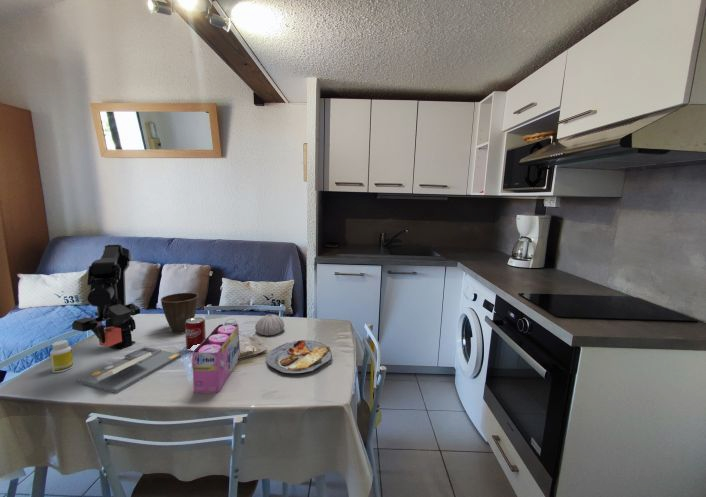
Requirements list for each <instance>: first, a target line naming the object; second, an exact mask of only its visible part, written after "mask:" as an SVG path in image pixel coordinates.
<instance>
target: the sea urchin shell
mask: <svg viewBox="0 0 706 497" xmlns="http://www.w3.org/2000/svg"><path fill="white" fill-rule="evenodd" d="M254 327H255V331H256V332H257V333H258V334H260V335H262V336H273V335H277V334H279V333H282V331H283V330H284V328H285V323H284V321H283V319H282V318H281V317H280V316H278V315H277V314H265V315H264V316H262V317H261V318H260V319H258V320H257V322H256V323H255V326H254Z"/></svg>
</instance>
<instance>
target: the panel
mask: <svg viewBox="0 0 706 497" xmlns="http://www.w3.org/2000/svg"><path fill="white" fill-rule="evenodd" d="M160 350H161V353H159V354H157V355H155V356H153V357H152V358H150V359H148V360H146V361H144V362H142V363H141V362H137V363H135V364H133V365H131V366H129V367H127V368H125V369H123V370H121V371H119V372H117V373H115V374H113V375H111V376H108V377H106V378H104V379H101V380H99V381H98V379H97V377H99V376H101V375H102V374H104V373H106V372H108V371H110V370H112V369H114V368H116V367H118V366H120V365H123V364H125V363H127V362H129V361H131V360H127V359H125V357H124V358H121V359H120V360H117V361H115V362H113V363H111V364H108V365H106V366H103V367H102V368H100V369H97V370H95V371H93V372H91V373H90V374H88V375H85V376H83V377H80V378H78V380H77V381H78V383H79V384H82V385H85V386H90V387H93V388H97V389H101V390H105V391H107V392H111V393H116V394H118V393H120V392H122V391H123V390H126V389H127V388H129V387H131V386H132V385H135V384H136V383H138V382H140V381H141V380H143V379H146V378H147V377H148V376H151V375H153V374H154V373H156V372H157V371H160V370H161V369H163V368H165V367H167V366H169V365H170V364H172V363H173V362H175V361H178V360H180V359H181V358H182V354H181V353H177V352H171V351H166V350H162V349H160ZM149 352H150V351H143V352H141V353H139V354H136V355H134V357H140V356H143V355H145V354H147V353H149ZM151 353H153V352H151Z"/></svg>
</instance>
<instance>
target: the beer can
mask: <svg viewBox="0 0 706 497" xmlns="http://www.w3.org/2000/svg"><path fill="white" fill-rule="evenodd" d="M236 324H237V325H238V321H237V320H236V319H233V318H231V319H227V320H225V323H224V324H223V325H224V326H229V325H232V326H235V325H236Z"/></svg>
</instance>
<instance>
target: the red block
mask: <svg viewBox="0 0 706 497" xmlns="http://www.w3.org/2000/svg"><path fill="white" fill-rule="evenodd" d="M104 335H105V343H101V341H100V340H99V339H98V342H99V345H100V346H103V347H108V348H110V347H109V346H112V345H114V344H117V343H119V342H122V335H121V328H118V327H113V326H111V327H107V328H106V327H105V328H104Z"/></svg>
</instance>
